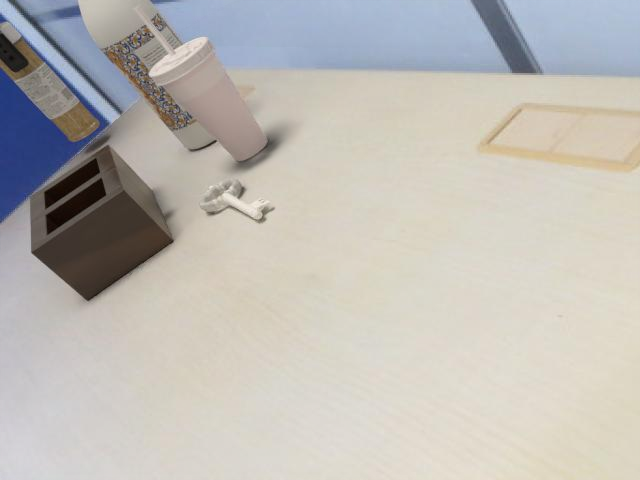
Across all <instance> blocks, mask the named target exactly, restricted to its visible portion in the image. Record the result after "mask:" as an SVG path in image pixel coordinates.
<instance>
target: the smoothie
mask: <svg viewBox="0 0 640 480" xmlns="http://www.w3.org/2000/svg"><path fill="white" fill-rule="evenodd" d="M134 11H135V12H136V13H137V14H138V16H139V17H140V18H141V19H142V21H143V22H144V23H145V24H146V26H147V27H148V28H149V29H150V31H151V32H152V33H153V34H154V36H155V37H156V38H157V39H158V41H159V42H160V43H161V44H162V46H163V47H164V48H165V50H166V51H167V52H168V53H169V54H168V55H166V56H164V58H162V59H161V60H160V61H159V62H158V63H157V64H155V65H154V66H153V68H152V69H151V70H150V72H149V76H150V77H151V79H152V80H153V81H154V82H155V84H156V85H157V86H162V87H163V88H164V89H165V90H166V91H167V92H168V93H169V94H170V95H171V96H172V97H173V98H174V99H175V100H176V101H177V102H178V103H179V104H180V105H181V106H182V107H183V108H184V109H185V110H186V111H187V112H188V113H189V114H190V115H191V116H192V117H193V118H194V119H195V120H196V121H197V122H198V123H199V124H200V125H201V126H202V127H203V128H204V129H205V130H206V131H207V132H208V133H209V134H210V135H211V136H212V137H214V138H215V139H216V140H215V141H216V142H217V143H218V144H219V145H220V146H221V147H222V148H223V149H224V150H225V151H226V152H227V153H228V154H230V155H231V157H233V158H234V160H235V161H236V162H243V161H246V160H249V159H251V158H253V157H254V156H257V154H259V153H260V152H261V151H262V150H263V149H264V148H265V147H266V146H267V144H268V143H269V140H268V138H267V136H266V135H265V133H264V132H263V130H262V128H261V126H260V125H259V123H258V121H257V120H256V118H255V117H254V114H253V113H252V112H251V110H250V108H249V106H248V105H247V103H246V101H245V100H244V98H243V97H242V95H241V93H240V91H239V89H238V88H237V86H236V85H235V84H234V81H233V80H232V78H231V77H230V75H229V74H228V73H227V71H226V68H225V67H224V65H223V64H222V62H221V60H220V59H219V57H218V56H217V54H216V52H215V51H216V46H215V45H214V44H213V43H212V41H211V40H210V39H209V37H208V36H200V37H197V38H194V39H191V40H189V41H187V42H184V44H183V45H182V46H180V47H178V48H177V49H175V50H173V48H172V47H171V46H170V45H169V43H168V42H167V41H166V40H165V38H164V37H163V36H162V34H161V33H160V32H159V31H158V29H157V28H156V27H155V26H154V24H153V23H152V22H151V21H150V19H149V18H148V17H147V15H146V14H145V13H144V12H143V10H142V9H141V8H140V7H139V6H137V7H136V8H134Z"/></svg>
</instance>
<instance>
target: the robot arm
mask: <svg viewBox="0 0 640 480" xmlns="http://www.w3.org/2000/svg"><path fill="white" fill-rule="evenodd" d="M1 23H2V22H1V20H0V24H1ZM1 32H2V31H1V30H0V59H1V60H2V61H3V62H4V64H5V65H6V66H7V67H8V68H9V69H10V70H11V71H13V72H19V71H20V70H22V69H24V68H25V67H27V66H28V64H29V62H28V60H27V59H26V58H25V56H24V55H23V54H22V53H21V52H20V51H19V50H18V49H17V48H16V47H15V46H14V45H13V44H12V42H11V41H10V40H9V39H8V38H7V37H6V36H5V35H4V34H3V33H1Z"/></svg>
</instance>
